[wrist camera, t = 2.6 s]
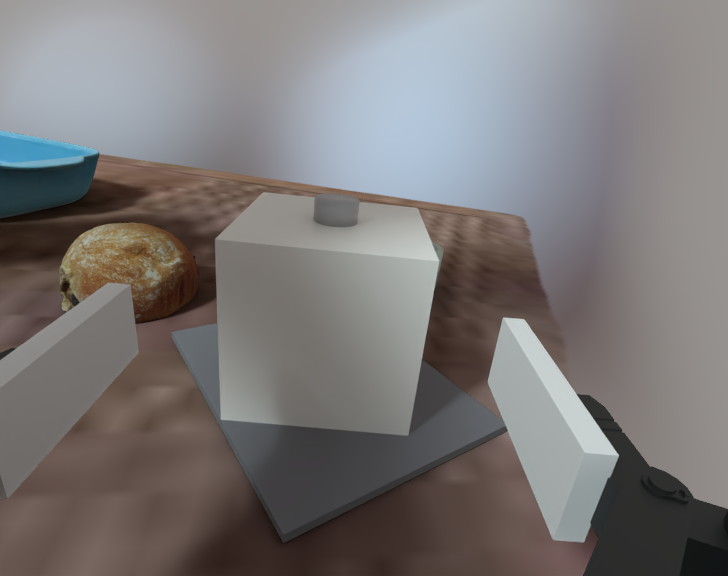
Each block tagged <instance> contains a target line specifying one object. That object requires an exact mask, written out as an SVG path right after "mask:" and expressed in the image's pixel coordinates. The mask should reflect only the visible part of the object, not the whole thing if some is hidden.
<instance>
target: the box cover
mask: <svg viewBox="0 0 728 576" xmlns="http://www.w3.org/2000/svg"><path fill="white" fill-rule="evenodd" d="M215 260H216V290H217V320H218V350H219V380H220V410H221V420H231V421H243V422H254V423H266V424H277V425H289V426H300V427H312V428H324V429H335V430H347V431H358V432H370V433H381V434H393V435H405V436H408V435H409V429H410V423H411V418H412V412H413V406H414V401H415V395H416V390H417V384H418V378H419V373H420V367H421V361H422V356H423V350H424V345H425V339H426V333H427V328H428V322H429V316H430V311H431V305H432V300H433V294H434V288H435V283H436V277H437V271H438V266H439V259H438V257H437V255H436V252H435V250H434V247H433V245H432V242H431V240H430V237H429V235H428V233H427V230H426V228H425V225H424V223H423V220H422V218H421V215H420V213H419V211H418V208H412V207H402V206H392V205H383V204H373V203H363V202H360V201H359V199H357V198H355V197H352V196H347V195H341V194H319V195H316V196H315V198H314V197H304V196H294V195H284V194H274V193H265V192H263V193H262V194H261V195H260V196H259V197H258V198H257V199H256V200H255V201H254V202H253V203H252V204H251V205H250V206H249V207H248V208H247V209H246V210H245V211H244V212H243V213H241V214H240V215H239V216H238V217H237V218H236V219H235V220H234V221H233V222H232V223H231V224H230V225H229V226H228V227H227V228H226V229H225V230H224V231H223V232H222V233H221V234H220V235H219V236H218V237H217V238H216V239H215Z"/></svg>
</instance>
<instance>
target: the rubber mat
mask: <svg viewBox="0 0 728 576" xmlns="http://www.w3.org/2000/svg"><path fill="white" fill-rule="evenodd" d="M172 339H173V341H174V343H175V344H176V346H177V348H178V350H179V352H180V354H181V355H182V357H183V359H184V361H185V363H186V365H187V367H188V368H189V370H190V372H191V374H192V376H193V378H194V379H195V381H196V383H197V385H198V387H199V389H200V391H201V392H202V394H203V396H204V398H205V400H206V402H207V403H208V405H209V407H210V409H211V411H212V413H213V415H214V416H215V418H216V420H217V422H218V424H219V426H220V428H221V429H222V431H223V433H224V435H225V437H226V439H227V440H228V442H229V444H230V446H231V448H232V450H233V452H234V453H235V455H236V457H237V459H238V461H239V463H240V464H241V466H242V468H243V470H244V472H245V474H246V476H247V477H248V479H249V481H250V483H251V485H252V487H253V488H254V490H255V492H256V494H257V496H258V498H259V500H260V501H261V503H262V505H263V507H264V509H265V511H266V512H267V514H268V516H269V518H270V520H271V522H272V524H273V525H274V527H275V529H276V531H277V533H278V535H279V536H280V538H281V540H282V542H283V543H285V542H287V541H289V540H291V539H293V538H295V537H297V536H299V535H301V534H303V533H305V532H307V531H309V530H311V529H313V528H315V527H317V526H319V525H321V524H323V523H325V522H327V521H329V520H331V519H333V518H335V517H337V516H339V515H341V514H343V513H345V512H347V511H349V510H351V509H353V508H355V507H357V506H359V505H361V504H363V503H365V502H367V501H369V500H371V499H373V498H375V497H377V496H379V495H381V494H383V493H385V492H387V491H389V490H391V489H393V488H395V487H397V486H398V485H400V484H402V483H404V482H406V481H408V480H410V479H412V478H414V477H416V476H418V475H420V474H422V473H424V472H426V471H428V470H430V469H432V468H434V467H436V466H438V465H440V464H442V463H444V462H446V461H448V460H450V459H452V458H454V457H456V456H458V455H460V454H462V453H464V452H466V451H468V450H470V449H472V448H474V447H476V446H478V445H480V444H482V443H484V442H486V441H488V440H490V439H492V438H494V437H496V436H498V435H500V434H502V433H504V432H506V430H507V428H506V425H505V423H504V421H503V420H501V419H500V418H499V417H497V416H496V415H495V414H493V413H492V412H491V411H490V410H488V409H487V408H486V407H484V406H483V405H482V404H480V403H479V402H478V401H476V400H475V399H474V398H472V397H471V396H470V395H468V394H467V393H466V392H465V391H463V390H462V389H461V388H459V387H458V386H457V385H455V384H454V383H453V382H451V381H450V380H449V379H447V378H446V377H445V376H443V375H442V374H441V373H439V372H438V371H437V370H436V369H434V368H433V367H432V366H430V365H429V364H428V363H426V362H425V361H424V360H422V361H421V367H420V373H419V378H418V384H417V390H416V395H415V401H414V406H413V412H412V418H411V423H410V429H409V435H408V436H405V435H393V434H381V433H370V432H358V431H347V430H335V429H324V428H312V427H300V426H289V425H277V424H266V423H254V422H243V421H231V420H221V410H220V380H219V350H218V323H215V324H210V325H205V326H200V327H195V328H190V329H185V330H179V331H174V332H172Z"/></svg>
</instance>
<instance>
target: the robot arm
mask: <svg viewBox="0 0 728 576" xmlns="http://www.w3.org/2000/svg"><path fill="white" fill-rule="evenodd" d="M138 353H139V351H138V343H137V334H136V326H135V318H134V309H133V301H132V292H131V285H130V284H119V283H107V284H106V285H104V286H103V287H101V288H100V289H99V290H97V291H96V292H95V293H93V294H92V295H90V296H89V297H88V298H86V299H85V300H83V301H82V302H81V303H79V304H78V305H76V306H75V307H74V308H72V309H71V310H69V311H68V312H67V313H65V314H64V315H62V316H61V317H60V318H58V319H57V320H56V321H54V322H53V323H51V324H50V325H49V326H47V327H46V328H44V329H43V330H42V331H40V332H39V333H37V334H36V335H35V336H33V337H32V338H30V339H29V340H28V341H26V342H25V343H23V344H22V345H21V346H19V347H18V348H11V349H9V350H6V351H4V352H2V353H0V499H8V498H9V497H10V496H11V495H12V494H13V493H14V491H15V490H16V489H17V488H18V487H19V486H20V485H21V484H22V483H23V481H24V480H25V479H26V478H27V477H28V476H29V475H30V474H31V472H32V471H33V470H34V469H35V468H36V467H37V466H38V465H39V464H40V462H41V461H42V460H43V459H44V458H45V457H46V456H47V455H48V453H49V452H50V451H51V450H52V449H53V448H54V447H55V446H56V445H57V443H58V442H59V441H60V440H61V439H62V438H63V437H64V436H65V434H66V433H67V432H68V431H69V430H70V429H71V428H72V427H73V426H74V424H75V423H76V422H77V421H78V420H79V419H80V418H81V417H82V415H83V414H84V413H85V412H86V411H87V410H88V409H89V408H90V407H91V405H92V404H93V403H94V402H95V401H96V400H97V399H98V398H99V396H100V395H101V394H102V393H103V392H104V391H105V390H106V389H107V388H108V386H109V385H110V384H111V383H112V382H113V381H114V380H115V379H116V377H117V376H118V375H119V374H120V373H121V372H122V371H123V370H124V369H125V367H126V366H127V365H128V364H129V363H130V362H131V361H132V360H133V358H134V357H135V356H136V355H137V354H138ZM488 384H489V387H490V389H491V391H492V394H493V396H494V399H495V401H496V404H497V406H498V408H499V411H500V413H501V416H502V418H503V420H504V423H505V425H506V428H507V430H508V432H509V435H510V437H511V440H512V442H513V445H514V447H515V449H516V452H517V454H518V457H519V459H520V461H521V464H522V466H523V469H524V471H525V473H526V476H527V478H528V481H529V483H530V486H531V488H532V490H533V493H534V495H535V498H536V500H537V502H538V505H539V507H540V510H541V512H542V514H543V517H544V519H545V522H546V524H547V527H548V529H549V531H550V534H551V536H552V539H553V540H558V541H572V542H584V541H585V538H586V536H587V533H588V531H589V529H590V526H591V525H592V527H593V529H594V531H595V533H596V535H597V537H598V538H599V540H598V542H597V545H596V547H595V549H594V551H593V554H592V556H591V558H590V561H589V563H588V565H587V568H586V570H585V572H584V574H583V576H728V509H725V508H723V507H719V506H716V505H713V504H710V503H706V502H703V501H699V500H697V499H694V498H693V496H692V494H691V493H690V491H689V490H688V488H687V487H686V486H685V485H684V484H682V483H681V482H680V481H679V480H678V479H677V478H675V477H673V476H671V475H670V474H668V473H667V472H665V471H662V470H659V469H657V468H654V467H650V466H649V465H648V464H647V462H646V461H645V460H644V458H643V457H642V456H641V454H640V453H639V452H638V450H637V449H636V448H635V447H634V445H633V444H632V443H631V441H630V440H629V439H628V438H627V436H626V435H625V433H622V429H621V428H620V427H619V426H618V424H617V423H616V422H614V419H613V417H611V415H610V413H609V412H608V411H607V409H606V408H605V407H604V406H603V405H601V404H600V403H599V402H597V401H596V400H595V399H593V398H592V397H591V396H589V395H579V394H576V393H575V392H574V390H573V389H572V387H571V386H570V384H569V383H568V382H567V380H566V379H565V377H564V376H563V374H562V373H561V371H560V370H559V369H558V367H557V366H556V364H555V363H554V361H553V360H552V358H551V357H550V356H549V354H548V353H547V351H546V350H545V348H544V347H543V346H542V344H541V343H540V341H539V340H538V338H537V337H536V335H535V334H534V333H533V331H532V330H531V328H530V327H529V325H528V324H527V323H526V321H525V320H524V319H515V318H504V317H503V320H502V324H501V328H500V332H499V337H498V341H497V345H496V349H495V353H494V357H493V362H492V366H491V370H490V374H489V378H488Z"/></svg>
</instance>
